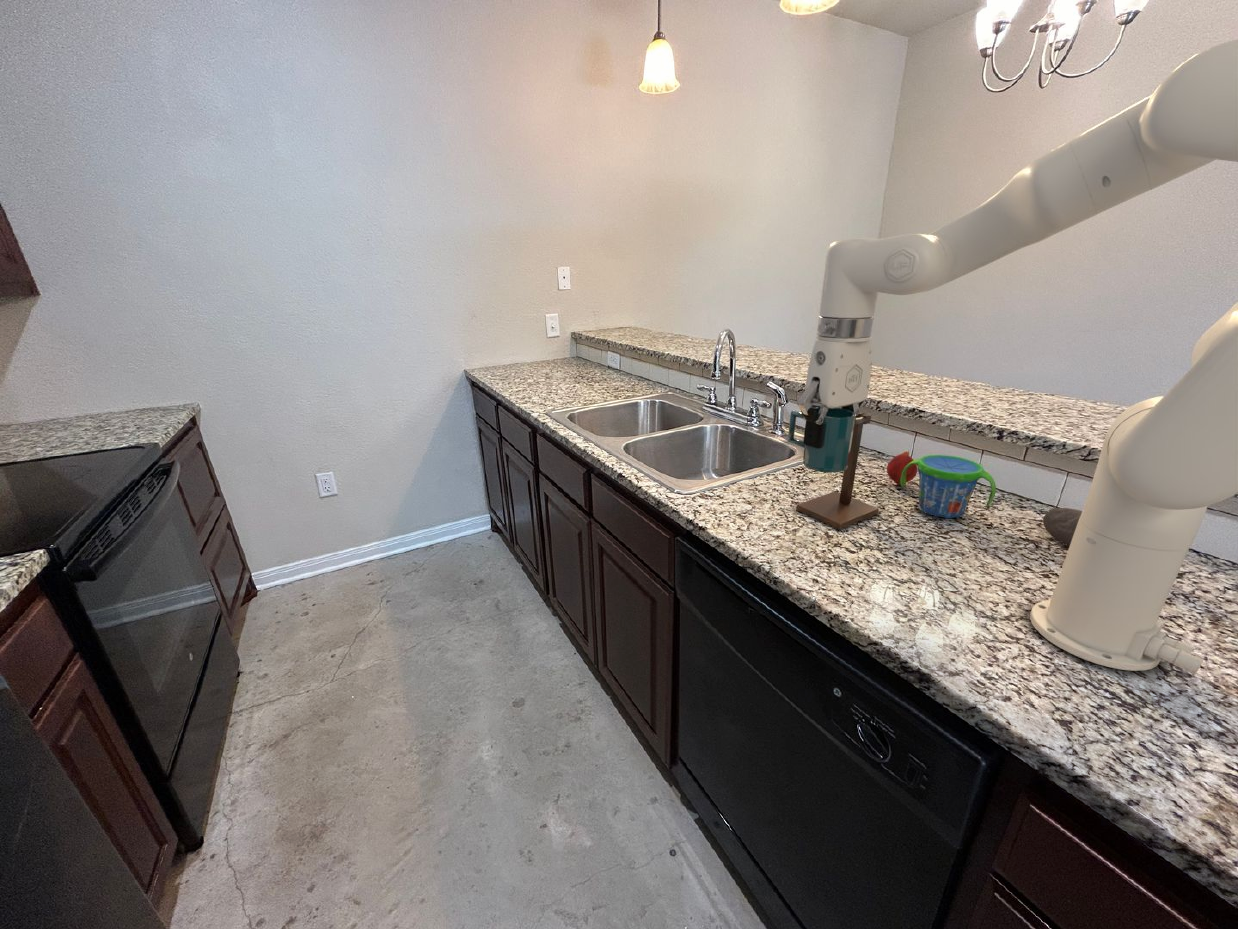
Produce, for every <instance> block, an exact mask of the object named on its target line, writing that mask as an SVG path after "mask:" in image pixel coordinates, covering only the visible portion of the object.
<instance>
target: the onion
mask: <svg viewBox="0 0 1238 929" xmlns="http://www.w3.org/2000/svg"><path fill="white" fill-rule="evenodd" d="M914 460H915V459H914V458H912V457H911V456H910V451H908V450H905V451H903V452H902V453H900V454H897V455H895V456H894V457H892V459H890V461H889V462H888V464H887V465H886V473H887V475H888V477H889V478H890V480H892V481H893V482H894V483H895V484H896V485H898V486H901V483H900V480H901V475H902V472H903V470H904V468H905V467H906V466H907V465H908V464H909V463H910V462H912V461H914ZM917 473H918V466H917V465H916V464H913V465H911V466H910V467H909V468H908V469H907V470H906V483H908V482H911V481H912V480H914V479H915V477H916V476H917Z"/></svg>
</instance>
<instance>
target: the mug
mask: <svg viewBox="0 0 1238 929" xmlns="http://www.w3.org/2000/svg"><path fill="white" fill-rule="evenodd" d="M815 411H816V412H817V414H818V413H819V411H820V408H818V407H816V408H815ZM797 418H798V419H803V418H804V416H803V415H802V413H801V411H799V410H794V409H793V410H791V411H790V415H789V425H788V432H787V442H788V444H791V445H794V446H797V447H800V448H802V449H803V448H804V450H803V455H802V456H803V458H802V464H803V466H805V467H806V468H808V469H810V470H813V471H817V472H820V473H821V472H822V473H841V472H844V470H846V469H847V465H848V462H849V455H850V449H851V443H852V436H853V430H854V424H855V418H856V414H855V412H853V411H850V410H847V409H843V408H839V407H838V408H829V409H828V411H827V414H826V416H825V418H824V420H823V423H822V424H825V431H824V438H823V445H822V448H820V449H817V448H814V447H811V446H808V445H805V444H804V443H803V440H800V439H797V438H795V433H796V426H797V425H796V424H797ZM803 420H804V419H803Z"/></svg>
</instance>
